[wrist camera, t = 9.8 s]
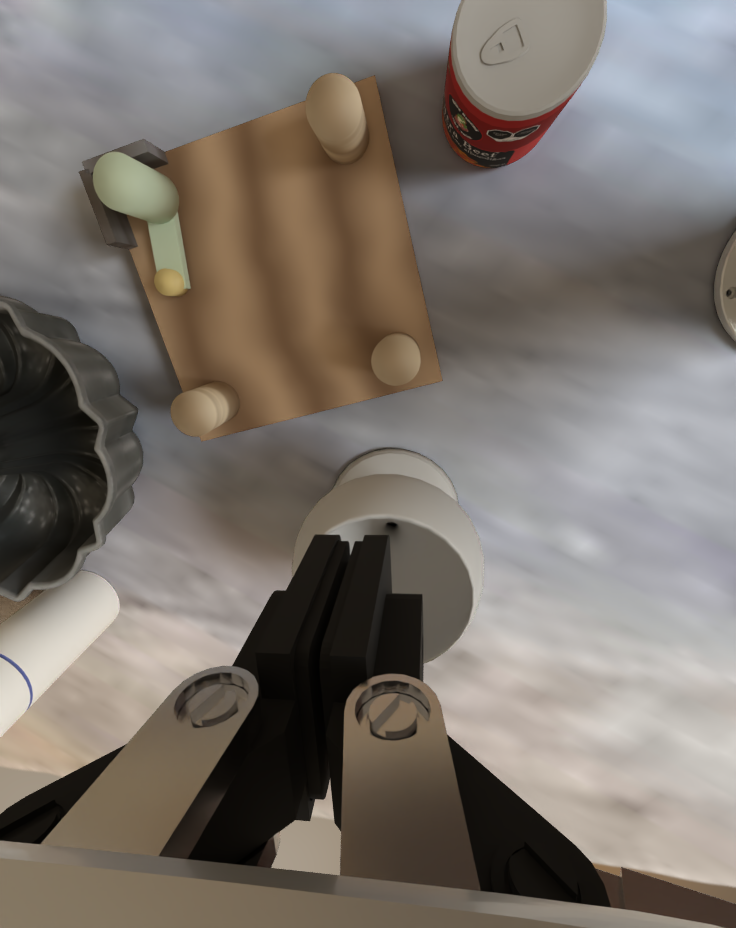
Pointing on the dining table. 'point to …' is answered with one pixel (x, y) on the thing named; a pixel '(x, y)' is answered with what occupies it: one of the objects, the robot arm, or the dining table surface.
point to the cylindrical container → (50, 639)
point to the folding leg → (147, 213)
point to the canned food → (515, 72)
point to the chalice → (408, 536)
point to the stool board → (285, 265)
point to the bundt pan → (58, 450)
